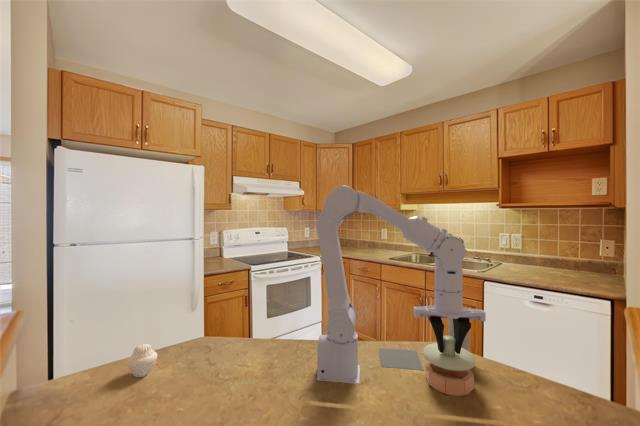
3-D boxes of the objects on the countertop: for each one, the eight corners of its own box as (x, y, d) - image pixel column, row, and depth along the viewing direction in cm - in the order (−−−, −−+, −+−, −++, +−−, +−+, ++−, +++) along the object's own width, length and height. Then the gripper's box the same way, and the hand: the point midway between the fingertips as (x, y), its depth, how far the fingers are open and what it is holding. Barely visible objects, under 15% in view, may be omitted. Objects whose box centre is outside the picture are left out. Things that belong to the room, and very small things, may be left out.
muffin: (123, 373, 68) (124, 344, 68) (152, 364, 73) (152, 336, 73) (131, 384, 64) (131, 352, 64) (161, 373, 68) (161, 343, 68)
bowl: (431, 396, 60) (431, 378, 60) (423, 372, 69) (423, 357, 69) (478, 400, 58) (478, 382, 58) (463, 375, 67) (463, 360, 67)
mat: (380, 369, 70) (380, 366, 70) (379, 350, 80) (379, 347, 80) (423, 372, 69) (423, 370, 69) (416, 352, 78) (416, 350, 78)
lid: (429, 369, 59) (429, 348, 59) (419, 345, 70) (419, 327, 70) (483, 372, 58) (483, 351, 58) (464, 347, 68) (464, 329, 68)
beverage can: (472, 367, 71) (471, 318, 71) (451, 365, 72) (450, 317, 72) (466, 357, 76) (465, 312, 76) (446, 356, 77) (446, 310, 77)
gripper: (417, 292, 61) (417, 357, 61) (491, 295, 58) (492, 362, 58) (412, 284, 68) (412, 342, 68) (478, 287, 65) (478, 347, 65)
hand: (448, 351), depth 63 cm, fingers closed on lid, 3 cm apart
